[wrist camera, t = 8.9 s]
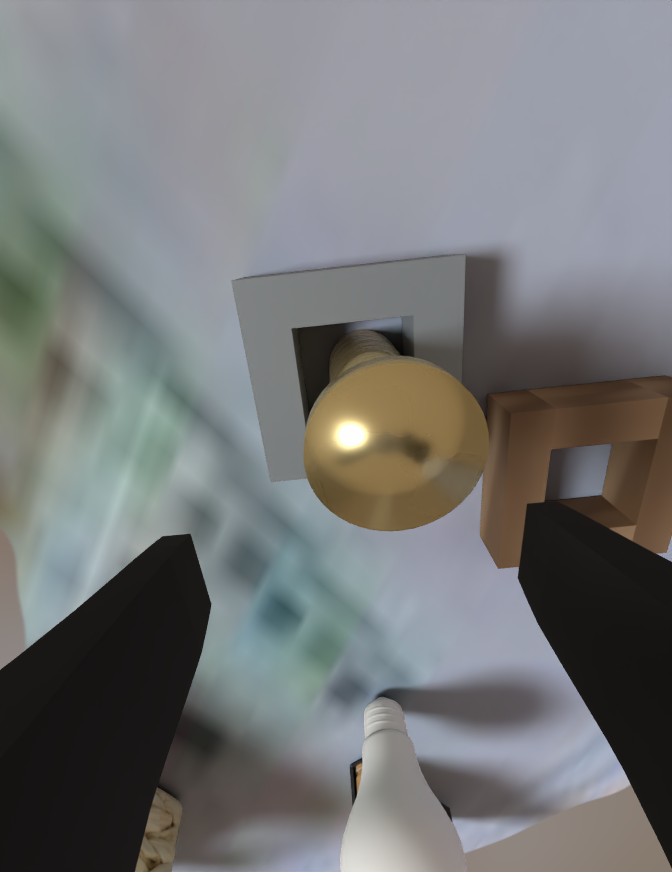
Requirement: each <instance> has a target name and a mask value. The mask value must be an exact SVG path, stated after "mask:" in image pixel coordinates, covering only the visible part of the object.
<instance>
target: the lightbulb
mask: <svg viewBox="0 0 672 872" xmlns="http://www.w3.org/2000/svg"><path fill="white" fill-rule="evenodd" d="M364 721H365V723H364V727H365V741H364V743H363V747H362V773H361V781H360V785H359V790H358V794H357V797H356V799H355V802H354V805H353V807H352V810H351V813H350V816H349V819H348V822H347V825H346V829H345V832H344V835H343V839H342V847H341V854H340V864H341V872H467V865H466V860H465V856H464V852H463V847H462V843H461V841H460V838H459V836H458V833H457V831H456V828H455V826H454V824H453V823H452V821H451V820H450V818H449V816H448V815H447V813H446V811H445V810H444V808H443V806H442V805H441V803H440V802H439V800H438V799H437V798H436V796H435V795H434V793H433V792H432V791H431V789H430V788H429V786H428V784H427V782H426V780H425V778H424V776H423V774H422V772H421V769H420V766H419V763H418V761H417V758H416V754H415V750H414V745H413V742H412V740H411V739H410V737H409V736H408V734H407V729H406V724H405V719H404V715H403V712H402V708H401V706H400V705H399V704H398V703H397V702H396V701H394V700H391V699H388V698H386V697H379V698H377V699H376V700H374V701H372V702H371V703H369V704H368V706H367V707H366V709H365V711H364Z"/></svg>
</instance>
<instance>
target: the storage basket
mask: <svg viewBox="0 0 672 872" xmlns="http://www.w3.org/2000/svg"><path fill="white" fill-rule="evenodd" d="M181 817H182V806H181V804H180V802H179V801H178V800H177V799H175V798H174V797H172V796H171V795H169V794H168V793H166V792H164V791H163V790H161V789H159V788H157V789H156V793H155V796H154V799H153V803H152V806H151V809H150V813H149V817H148V821H147V825H146V829H145V833H144V837H143V841H142V845H141V849H140V853H139V857H138V861H137V865H136V869H135V872H172V863H173V860H174V857H175V852H176V841H177V837H178V831H179V824H180V822H181Z"/></svg>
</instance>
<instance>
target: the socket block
mask: <svg viewBox="0 0 672 872" xmlns="http://www.w3.org/2000/svg"><path fill="white" fill-rule="evenodd" d="M465 259H466V255H441V256H432V257H423V258H414V259H405V260H396V261H387V262H378V263H369V264H360V265H351V266H342V267H333V268H324V269H315V270H306V271H297V272H288V273H279V274H270V275H261V276H252V277H244V278H240V279H236V280H232V281H231V282H232V287H233V292H234V297H235V302H236V307H237V312H238V317H239V323H240V328H241V333H242V338H243V343H244V348H245V353H246V358H247V364H248V369H249V374H250V379H251V384H252V389H253V394H254V399H255V405H256V410H257V415H258V420H259V425H260V430H261V435H262V440H263V445H264V451H265V456H266V461H267V466H268V471H269V476H270V481H271V482H276V481H286V480H296V479H306V478H307V475H306V471H305V468H304V459H303V449H304V438H305V430H306V425H307V420H308V417H309V409H308V402H307V395H306V388H305V380H304V373H303V366H302V359H301V351H300V344H299V337H298V330H297V328H301V327H310V326H319V325H329V324H338V323H347V322H356V321H365V320H375V319H384V318H393V317H402V340H403V356H409V357H414V358H420V359H423V360H426V361H429V362H432V363H434V364H436V365H437V366H439V367H441V368H443V369H444V370H446V371H447V372H449V373H450V374H451V375H452V376H454V377H455V378H456V379H457V380H458V381H459V382H460V383H461V384H462V364H463V329H464V294H465Z"/></svg>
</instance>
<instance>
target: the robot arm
mask: <svg viewBox="0 0 672 872" xmlns="http://www.w3.org/2000/svg"><path fill="white" fill-rule="evenodd" d="M518 579H519V582H520V584H521V587H522V589H523V591H524V594H525V596H526V598H527V601H528V603H529V605H530V607H531V609H532V612H533V614H534V616H535V618H536V620H537V623H538V624H539V626H540V628H541V630H542V631H543V633H544V635H545V637H546V638H547V640H548V642H549V643H550V645H551V647H552V649H553V650H554V652H555V654H556V655H557V657H558V659H559V660H560V662H561V664H562V666H563V667H564V669H565V671H566V672H567V674H568V676H569V677H570V679H571V681H572V682H573V684H574V686H575V687H576V689H577V691H578V692H579V694H580V696H581V697H582V699H583V701H584V702H585V704H586V706H587V707H588V709H589V711H590V712H591V714H592V716H593V717H594V719H595V721H596V722H597V724H598V726H599V727H600V729H601V731H602V732H603V734H604V736H605V737H606V739H607V741H608V743H609V744H610V746H611V748H612V750H613V752H614V753H615V755H616V757H617V759H618V761H619V762H620V764H621V766H622V768H623V770H624V771H625V773H626V775H627V777H628V779H629V781H630V784H631V786H632V788H633V790H634V792H635V794H636V795H637V798H638V800H639V802H640V803H641V806H642V808H643V810H644V812H645V814H646V816H647V818H648V820H649V822H650V824H651V826H652V828H653V830H654V832H655V834H656V836H657V838H658V840H659V842H660V844H661V846H662V848H663V850H664V853H665V854H666V857H667V859H668V861H669V863H670V865H671V868H672V562H671V561H669V560H667V559H665V558H663V557H661V556H659V555H657V554H655V553H654V552H652V551H650V550H648V549H646V548H644V547H642V546H640V545H639V544H637V543H635V542H633V541H631V540H629V539H628V538H626V537H624V536H622V535H620V534H618V533H617V532H615V531H613V530H611V529H609V528H607V527H606V526H604V525H602V524H600V523H598V522H596V521H594V520H593V519H591V518H589V517H587V516H585V515H583V514H581V513H579V512H578V511H576V510H574V509H572V508H570V507H568V506H566V505H563V504H561V503H559V502H557V501H551V502H540V503H529V504H527V507H526V516H525V524H524V532H523V540H522V548H521V556H520V564H519V573H518ZM210 609H211V601H210V598H209V595H208V591H207V588H206V585H205V581H204V578H203V574H202V571H201V568H200V564H199V561H198V558H197V554H196V551H195V547H194V544H193V541H192V537H191V534H184V535H173V536H162V537H161V538H160V539H159V540H157V541H156V542H155V543H153V544H152V545H151V546H150V547H148V548H147V549H146V550H145V551H144V552H142V553H141V554H140V555H139V556H138V557H137V558H135V559H134V560H133V561H132V562H131V563H130V564H128V565H127V566H126V567H125V568H124V569H123V570H122V571H120V572H119V573H118V574H117V575H116V576H115V577H113V578H112V579H111V580H110V581H109V582H108V583H106V584H105V585H104V586H103V587H102V588H101V589H99V590H98V591H97V592H96V593H95V594H94V595H92V596H91V597H90V598H89V599H88V600H87V601H85V602H84V603H83V604H82V605H81V606H80V607H78V608H77V609H76V610H75V611H74V612H72V613H71V614H70V615H69V616H67V617H66V618H65V619H64V620H63V621H61V622H60V623H59V624H58V625H56V626H55V627H54V628H53V629H51V630H50V631H49V632H48V633H46V634H45V635H44V636H43V637H41V638H40V639H39V640H38V641H36V642H35V643H34V644H33V645H31V646H30V647H29V648H28V649H26V650H25V651H24V652H23V653H21V654H20V655H19V656H18V657H17V658H15V659H14V660H13V661H11V662H10V663H9V664H7V665H6V666H5V667H3V668H2V669H1V670H0V872H135V869H136V865H137V861H138V857H139V853H140V849H141V845H142V841H143V837H144V833H145V829H146V825H147V821H148V817H149V813H150V809H151V806H152V803H153V799H154V796H155V793H156V789H157V786H158V782H159V779H160V776H161V773H162V770H163V767H164V764H165V761H166V758H167V755H168V752H169V749H170V746H171V743H172V740H173V737H174V734H175V731H176V728H177V725H178V722H179V719H180V716H181V713H182V710H183V708H184V705H185V702H186V699H187V696H188V693H189V690H190V687H191V684H192V680H193V677H194V674H195V671H196V668H197V665H198V662H199V659H200V656H201V653H202V648H203V644H204V639H205V635H206V630H207V625H208V620H209V614H210Z"/></svg>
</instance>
